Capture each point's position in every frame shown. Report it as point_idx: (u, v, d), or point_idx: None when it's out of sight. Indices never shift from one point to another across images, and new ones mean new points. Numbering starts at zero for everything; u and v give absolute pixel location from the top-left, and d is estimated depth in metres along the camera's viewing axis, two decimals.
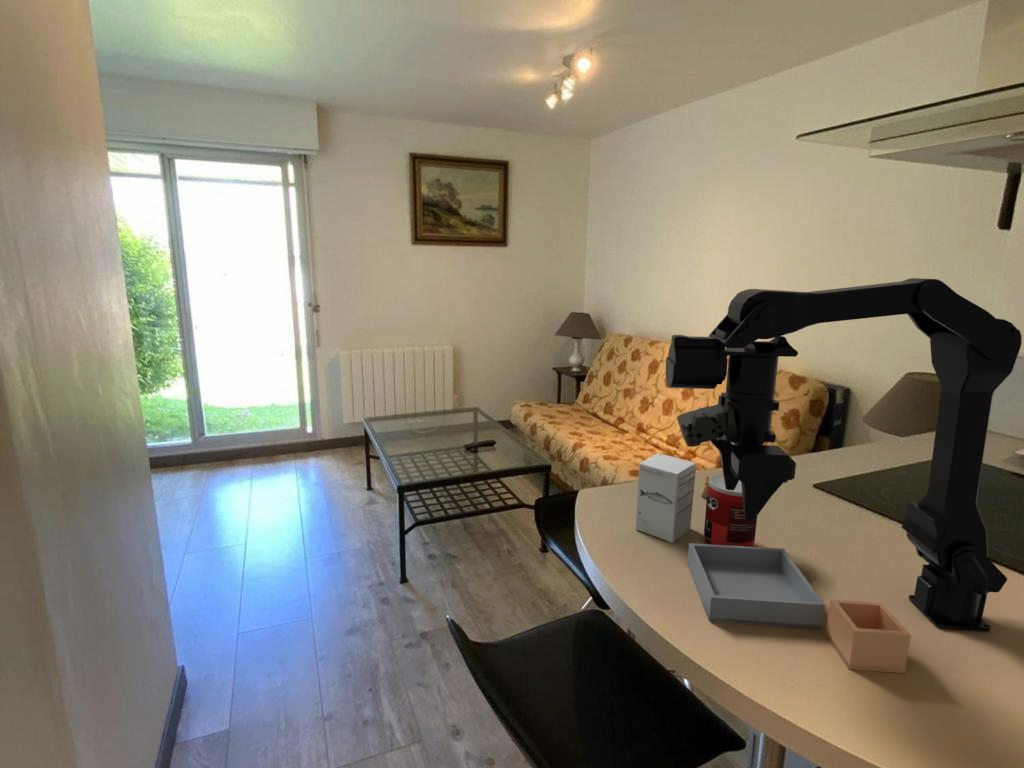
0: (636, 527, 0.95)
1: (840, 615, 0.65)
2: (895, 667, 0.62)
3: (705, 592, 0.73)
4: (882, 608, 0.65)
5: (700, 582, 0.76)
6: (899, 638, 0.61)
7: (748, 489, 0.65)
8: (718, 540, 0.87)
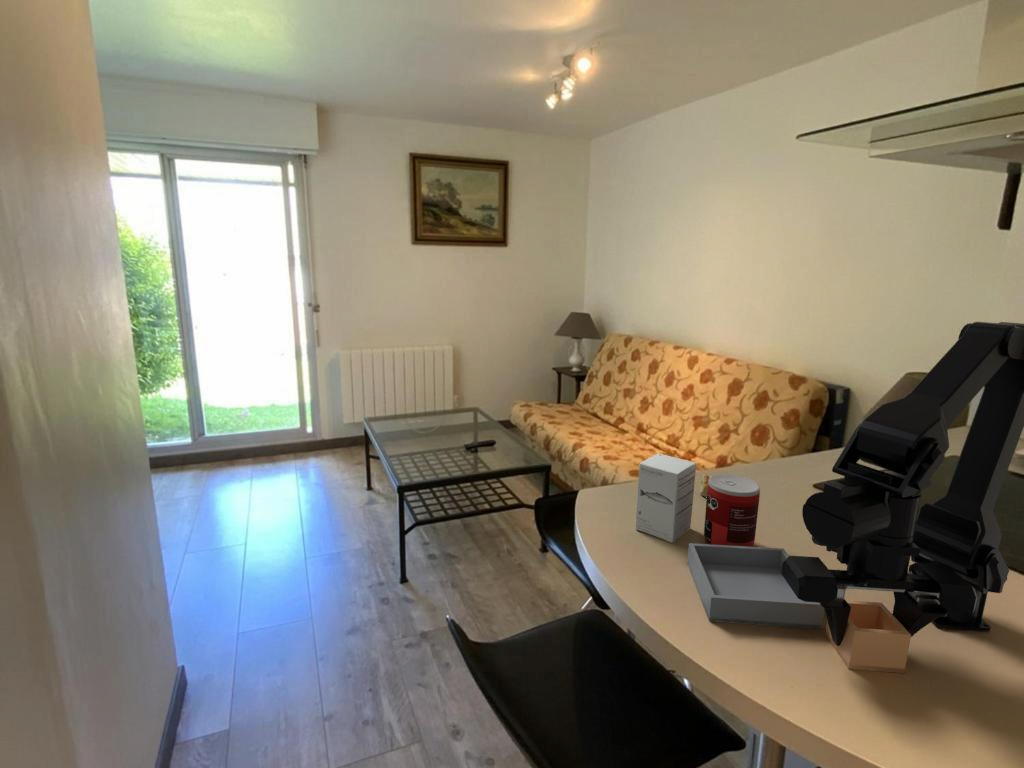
0: (636, 527, 0.95)
1: None
2: (895, 667, 0.62)
3: (705, 592, 0.73)
4: (882, 608, 0.65)
5: (700, 582, 0.76)
6: (899, 638, 0.61)
7: None
8: (718, 540, 0.87)
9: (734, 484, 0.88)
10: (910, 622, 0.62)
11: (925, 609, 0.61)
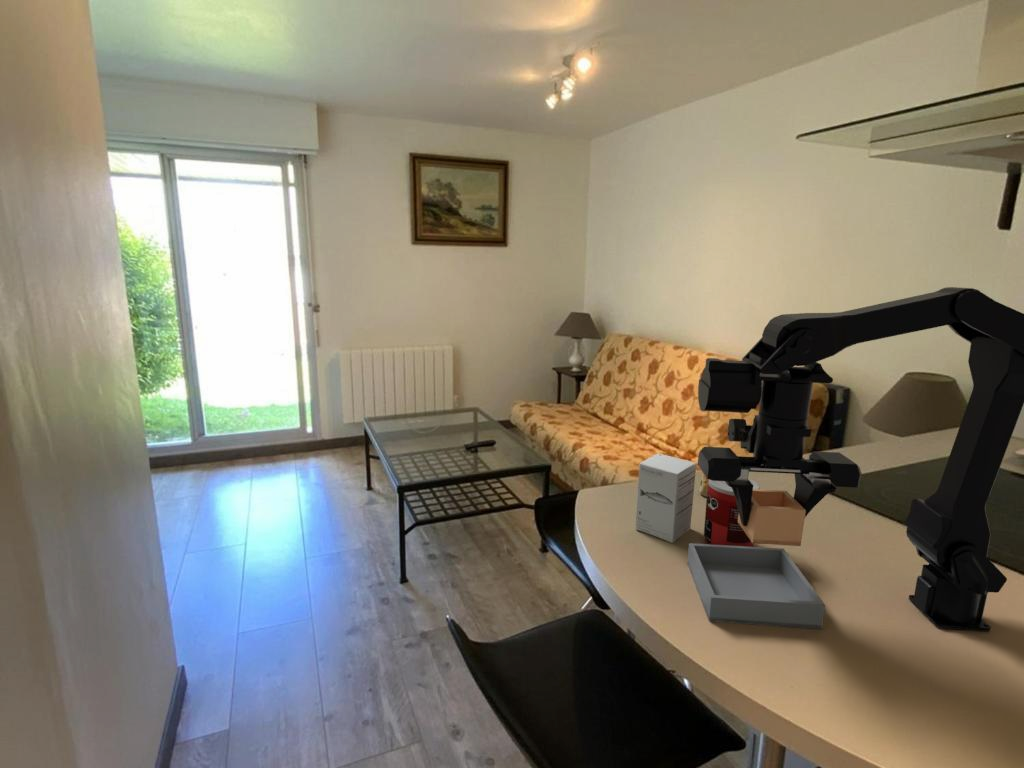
0: (636, 527, 0.95)
1: None
2: (793, 540, 0.69)
3: (705, 592, 0.73)
4: (786, 494, 0.73)
5: (700, 582, 0.76)
6: (795, 513, 0.69)
7: (733, 488, 0.73)
8: (718, 540, 0.87)
9: None
10: (805, 500, 0.69)
11: (817, 486, 0.68)
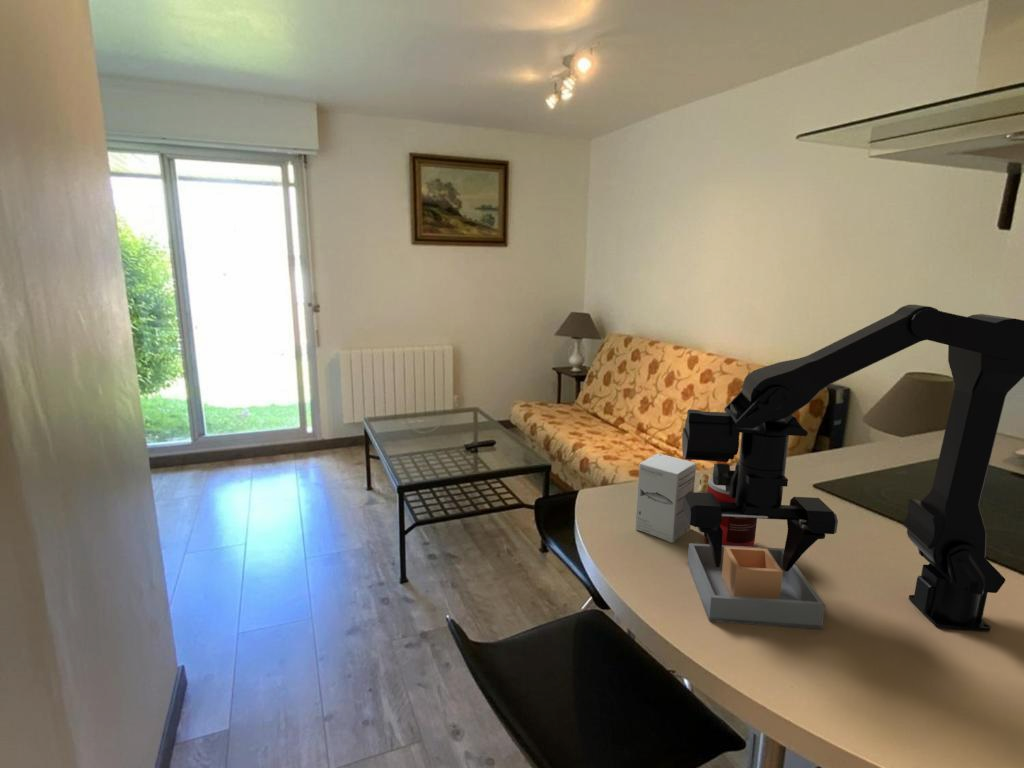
0: (636, 527, 0.95)
1: (729, 558, 0.76)
2: None
3: (705, 592, 0.73)
4: (766, 553, 0.77)
5: (700, 582, 0.76)
6: (773, 574, 0.73)
7: None
8: None
9: None
10: (796, 545, 0.72)
11: (807, 533, 0.71)
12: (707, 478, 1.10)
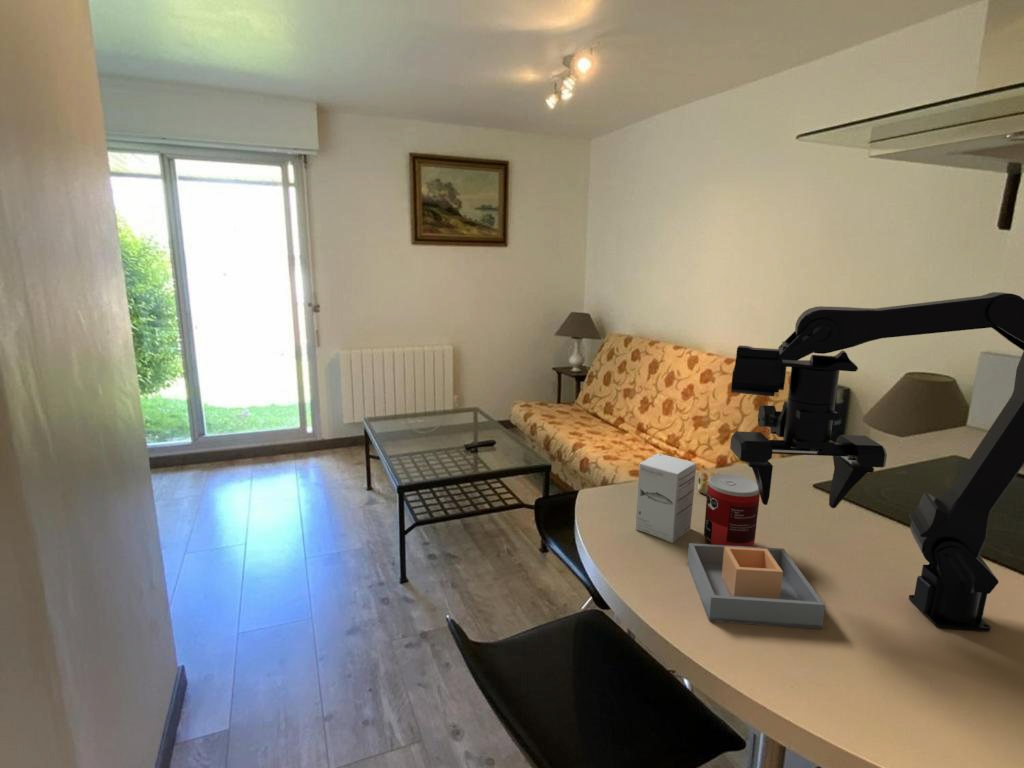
0: (636, 527, 0.95)
1: (729, 558, 0.76)
2: None
3: (705, 592, 0.73)
4: (766, 553, 0.77)
5: (700, 582, 0.76)
6: (773, 574, 0.73)
7: (754, 470, 0.78)
8: (718, 540, 0.87)
9: (734, 484, 0.88)
10: (844, 480, 0.74)
11: (856, 467, 0.73)
12: (706, 477, 1.10)
